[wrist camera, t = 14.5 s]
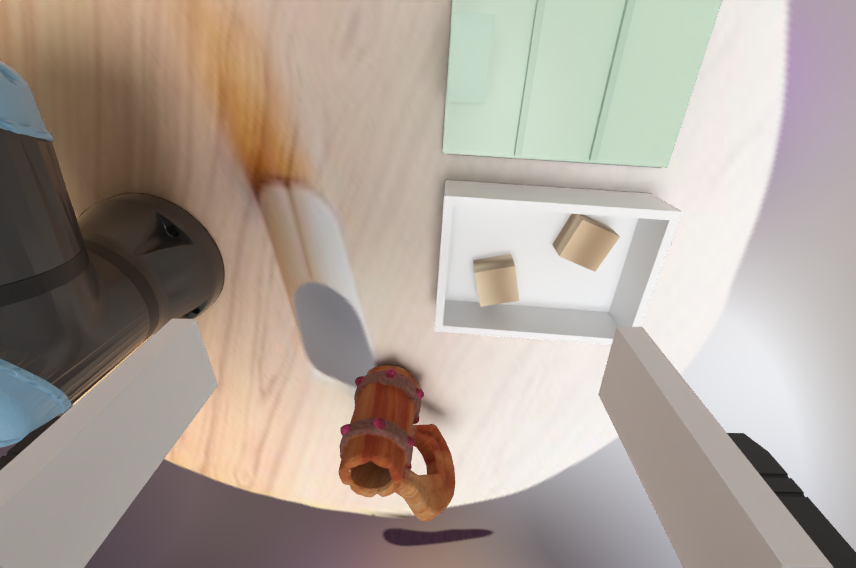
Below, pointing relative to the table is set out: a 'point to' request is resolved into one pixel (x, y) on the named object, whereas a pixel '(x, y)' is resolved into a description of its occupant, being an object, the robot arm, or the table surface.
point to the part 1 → (496, 280)
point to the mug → (395, 444)
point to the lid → (573, 78)
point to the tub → (549, 260)
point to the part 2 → (585, 241)
